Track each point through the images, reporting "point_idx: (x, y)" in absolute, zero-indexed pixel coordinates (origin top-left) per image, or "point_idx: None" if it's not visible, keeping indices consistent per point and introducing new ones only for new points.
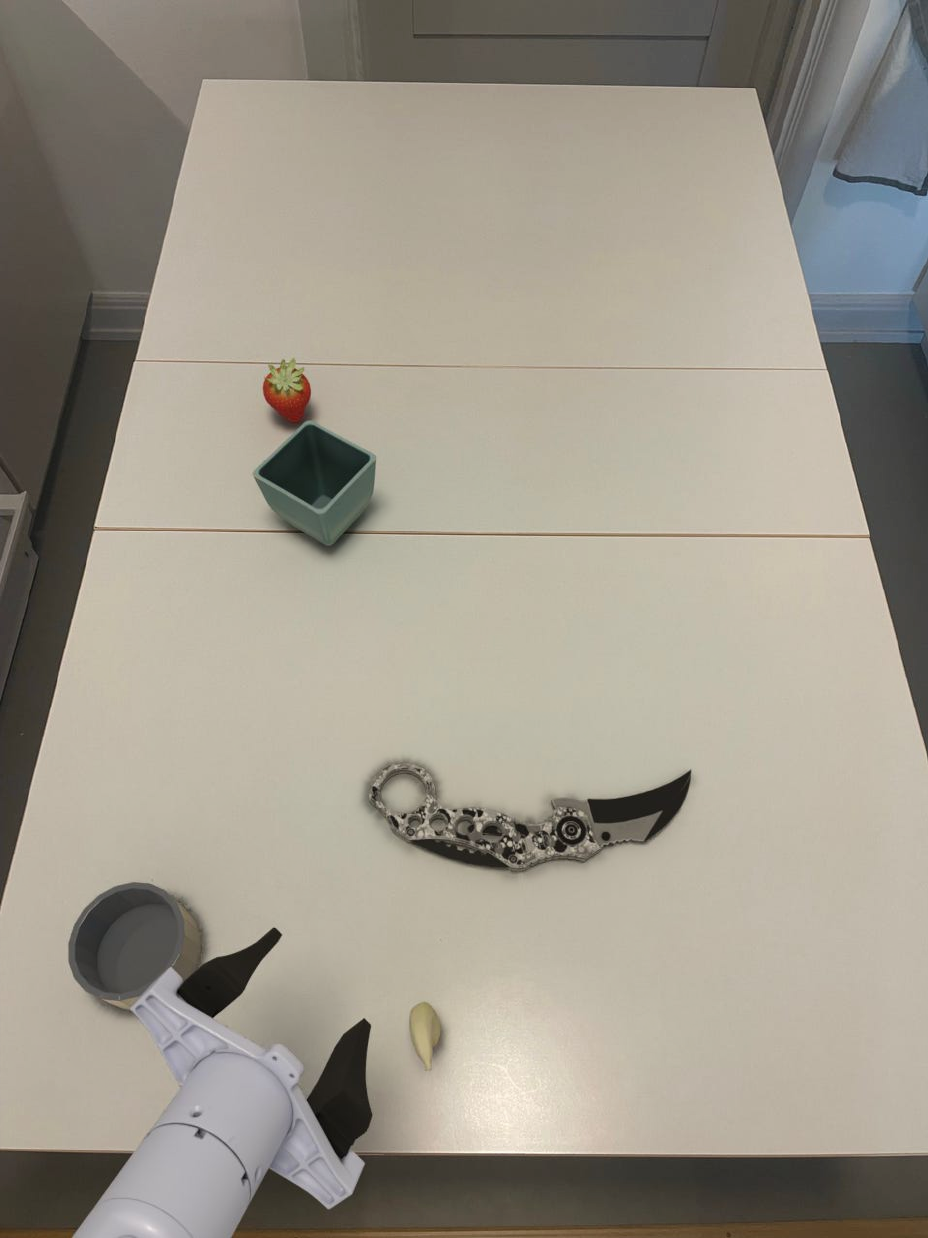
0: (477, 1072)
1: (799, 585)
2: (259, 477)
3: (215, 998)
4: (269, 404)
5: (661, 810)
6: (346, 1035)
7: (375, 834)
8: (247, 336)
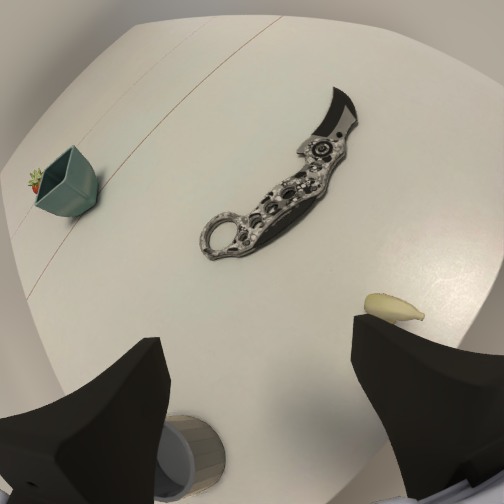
0: (430, 299)
1: (284, 32)
2: (37, 203)
3: (57, 495)
4: None
5: (344, 105)
6: (356, 354)
7: (232, 270)
8: (31, 197)
